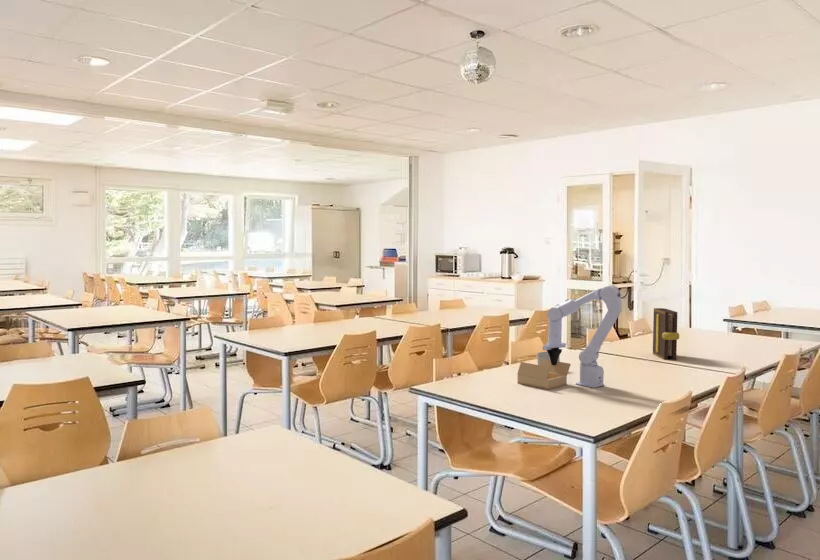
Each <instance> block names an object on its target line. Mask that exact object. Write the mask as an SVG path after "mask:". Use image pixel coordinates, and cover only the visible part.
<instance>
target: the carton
mask: <svg viewBox="0 0 820 560" xmlns="http://www.w3.org/2000/svg"><path fill="white" fill-rule="evenodd" d="M567 380H568V375H567V376H566V375H561V374H555V373H550V372H549V374H548V378H547V380H544V379H539V378H534V377H529V376H524V375H519V374H517V384H520V385H524V386H529V387H532V388H538V389H541V390H542V389H543V390H548V391H549V390H552V389H556V388H560V387H564V386H568V385H567V383H568V382H567Z"/></svg>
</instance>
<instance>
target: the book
mask: <svg viewBox="0 0 820 560" xmlns="http://www.w3.org/2000/svg"><path fill="white" fill-rule="evenodd" d="M652 324H653V327H652V328H653V329H652V331H653V333H652V354H653V355H654V356H656V357H658V358H660V359H662V360H664V361H666V360H669V359H670V360H673V361H677V347H678V346H677V343H678V341H677V340H679V339H680V334H679V332H678V311H674V310H671V309H668V308H661V307H660V308H659V307H655V308H653V323H652Z"/></svg>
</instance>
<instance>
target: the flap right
mask: <svg viewBox="0 0 820 560" xmlns="http://www.w3.org/2000/svg"><path fill="white" fill-rule="evenodd" d="M571 364H572V363H569V362H563V361H560V362H558V361H557V364H556V365H551V360H546V359H541V361H540V364H539V365H541V366H546V367H550V371H549V372H550V373H555V374H561V375H566V376H567V377H568V373H569V370H570V367H571Z"/></svg>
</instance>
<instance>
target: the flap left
mask: <svg viewBox="0 0 820 560" xmlns="http://www.w3.org/2000/svg"><path fill="white" fill-rule="evenodd" d="M549 371H550V367H546V366H541V365H538V364H536V363H535V364H534V363H528V362H524V361H523V362H522V361H521V362H520V364H519V367H518V370H517V373H516V374H517V375H518V374H519V375H524V376H529V377H534V378H539V379H544V380H547V378H548V374H549Z"/></svg>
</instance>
